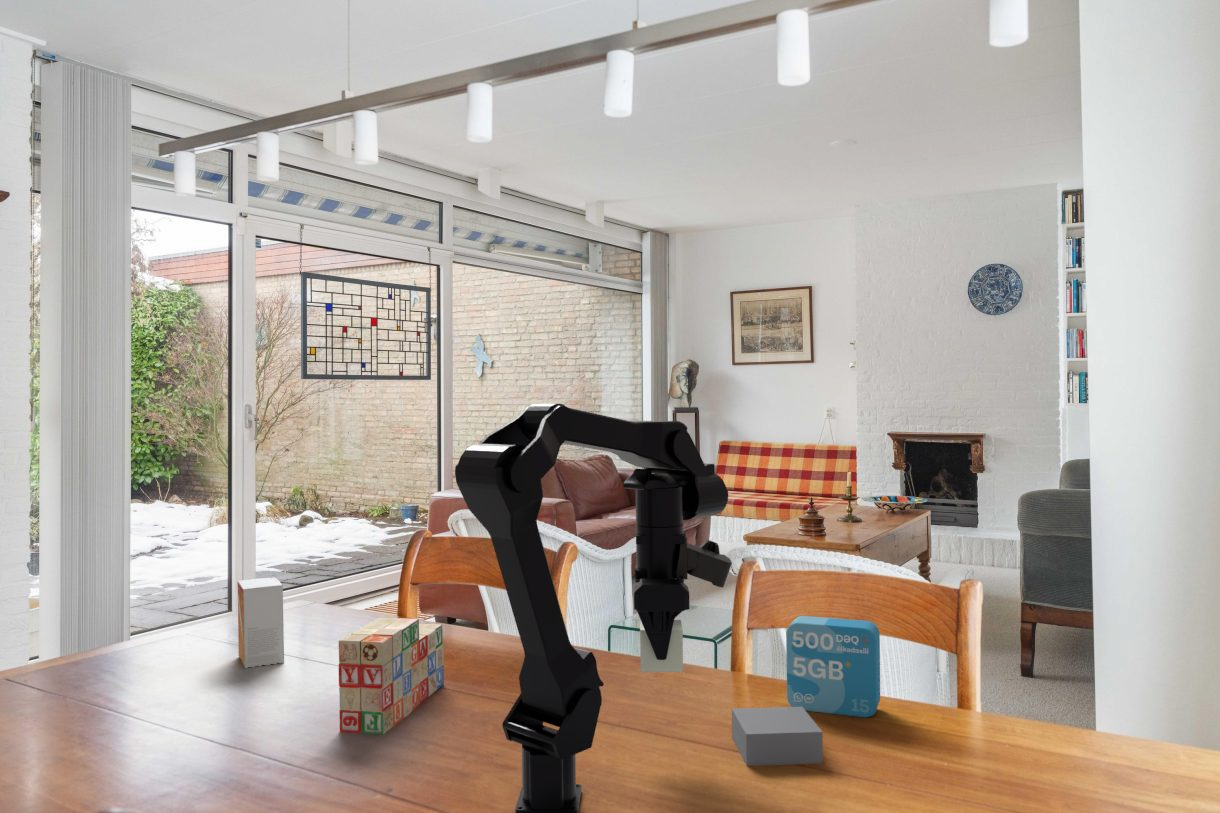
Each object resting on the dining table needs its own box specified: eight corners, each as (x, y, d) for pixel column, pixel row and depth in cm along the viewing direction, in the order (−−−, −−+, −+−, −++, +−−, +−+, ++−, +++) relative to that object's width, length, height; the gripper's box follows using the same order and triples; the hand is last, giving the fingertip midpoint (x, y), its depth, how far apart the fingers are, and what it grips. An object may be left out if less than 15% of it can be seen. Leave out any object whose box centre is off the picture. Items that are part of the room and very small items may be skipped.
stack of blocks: (406, 683, 141) (404, 602, 141) (444, 685, 140) (443, 604, 140) (338, 733, 120) (337, 638, 120) (383, 736, 119) (382, 640, 119)
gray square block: (822, 766, 108) (822, 731, 108) (746, 768, 107) (746, 734, 107) (802, 738, 117) (802, 706, 117) (732, 740, 116) (731, 708, 116)
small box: (237, 657, 156) (236, 580, 156) (277, 651, 159) (276, 576, 159) (243, 669, 149) (242, 588, 149) (284, 663, 152) (283, 584, 152)
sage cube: (683, 672, 109) (682, 629, 109) (640, 672, 109) (640, 630, 109) (681, 660, 114) (680, 619, 114) (640, 660, 114) (640, 619, 114)
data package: (786, 709, 127) (785, 621, 127) (793, 699, 131) (792, 614, 131) (876, 719, 122) (876, 629, 122) (880, 708, 127) (879, 621, 126)
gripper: (734, 535, 102) (735, 676, 102) (720, 514, 121) (721, 633, 121) (633, 536, 102) (634, 676, 102) (634, 514, 121) (636, 633, 121)
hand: (661, 653), depth 112 cm, fingers closed on sage cube, 5 cm apart
